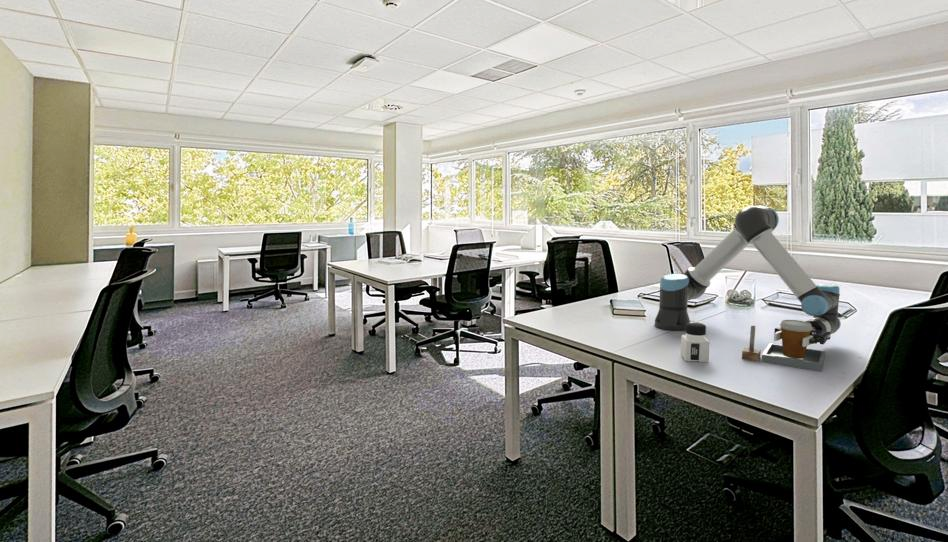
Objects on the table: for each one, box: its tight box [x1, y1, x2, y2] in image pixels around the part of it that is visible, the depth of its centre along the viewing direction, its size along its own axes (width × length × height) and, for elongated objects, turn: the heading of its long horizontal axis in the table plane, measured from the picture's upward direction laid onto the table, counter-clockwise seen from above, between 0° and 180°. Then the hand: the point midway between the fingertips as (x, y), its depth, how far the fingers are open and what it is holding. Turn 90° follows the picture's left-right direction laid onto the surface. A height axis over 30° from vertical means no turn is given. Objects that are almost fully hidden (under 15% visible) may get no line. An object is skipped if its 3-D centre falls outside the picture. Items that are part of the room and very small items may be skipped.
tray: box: [761, 342, 826, 372], centre depth 167 cm, size 17×17×3 cm
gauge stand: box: [741, 324, 761, 362], centre depth 168 cm, size 5×5×12 cm
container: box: [680, 321, 711, 363], centre depth 169 cm, size 8×8×13 cm
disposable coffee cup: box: [779, 319, 813, 358], centre depth 166 cm, size 10×10×12 cm
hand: (789, 339), depth 163 cm, fingers closed on disposable coffee cup, 8 cm apart
